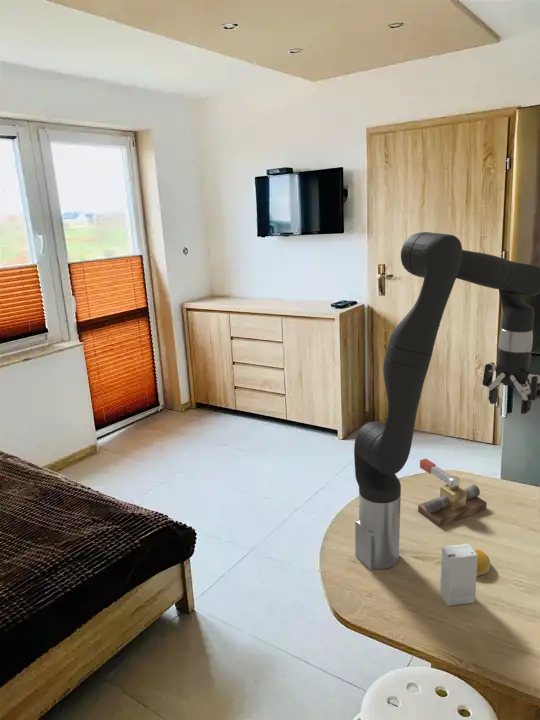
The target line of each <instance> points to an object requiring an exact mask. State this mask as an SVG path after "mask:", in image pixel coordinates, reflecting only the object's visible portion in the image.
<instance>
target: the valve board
mask: <svg viewBox="0 0 540 720" xmlns="http://www.w3.org/2000/svg"><path fill="white" fill-rule="evenodd" d="M480 495H481V490H480V488H479V486H478V485H476V484H472V485H469V486H466V487H462V486H461V485H459V488H458V489H451V488H449V487H448V484H447V483H446V484H444V485H441V486H440V488H439V497H436V498H434V499H433V498H432V499H430V500H427V501H424V502H422V503H420V504H417V505H418V508H417V512H418V513H419V514H421V515H423V516H424V517H425V518H426V519H427V520H429V521H430V522H432V524H435V525H436V526H437V527H439V528H440V527H444V526H447V525H448V524H450V523H453V522H456V521H458V520H461V519H464V518H467V517H470V516H472V515H474V514H478V513H480V512H482V511H485V510H487V503H488V502H487V501H485V500H483V499H482V498H481V497H479V496H480Z"/></svg>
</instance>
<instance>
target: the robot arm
mask: <svg viewBox="0 0 540 720" xmlns="http://www.w3.org/2000/svg"><path fill="white" fill-rule="evenodd" d="M400 260H401V264H402V265H401V266H402V267H403V268H404V269H405V270H406V271H407V272H408V273H409V274H411V275H413V276H416V277H418V278H424V279H423V281H422V285H421V288H420V292H419V294H418V297H417V300H416V301H415V304H414V305H413V306H412V308H411V309H410V310H409V312H408V313H407V314H406V315H405V316H404V317H403V318H402V320H401V321H399V323H398V324H397V325H396V327H395V328H394V330H393V331H392V333H391V335H390V337H389V341H388V343H387V348H386V351H385V355H384V359H383V366H382V372H383V380H384V386H385V387H384V388H385V392H386V398H387V413H386V414H387V415H386V419H385V423H381V422H379V421H370V422H367V423H366V424H364V425H363V426H362V427H361V428H360V429H359V430H358V432H357V434H356V436H355V441H354V444H353V445H354V447H353V454H354V455H353V456H354V460H353V461H354V477H355V480H356V482H357V485H358V520H355V524H354V525H355V526H354V527H355V529H354V530H355V534H354V535H355V539H354V540H355V543H354V544H355V545H354V546H355V549H354V550H355V554H354V555H355V556H356V557H357V559H358V560H360V562H362V564H363V565H365V566H366V568H368V569H369V570H374V569H375V570H376V569H377V570H385V569H390V568H394V566H396V565H397V564H398V562H399V558H400V529H401V527H400V526H401V525H400V523H401V501H402V500H401V496H402V486H401V485H402V484H401V481H400V479H399V478H398V476H397V474H398V473H399V472H400V471H401V470H402V469H404V467H405V464H406V463H407V461H408V459H409V455H410V452H411V447H412V445H413V444H412V442H413V438H414V430H415V425H416V419H417V412H418V408H419V403H420V399H421V395H422V392H423V387H424V384H425V380H426V377H427V373H428V371H429V367H430V363H431V359H432V355H433V352H434V347H435V344H436V339H437V335H438V331H439V329H440V326H441V323H442V318H443V315H444V313H445V309H446V305H447V303H448V302H449V298H450V295H451V293H452V290H453V288H454V285H455V283H456V280H457V279H458V280H462V281H464V282H467V283H470V284H475V285H478V286H483V287H485V288H489V289H495V290H498V292H499V293H498V294H499V299H500V304H501V308H502V309H501V310H502V318H501V327H500V331H499V336H498V346H497V357H496V363H497V365H496V363H495V362H489V363H486V364H485V365H484V370H483V376H482V377H483V378H482V382H481V383H482V386H484V387H486V388H488V401H489V404H491V405H494V404H497V402H498V394H499V388H500V386H501V385H503V386H509V387H510V388H513V389H515V388H516V391H517V392H518V393H519V394H520V395H521V398H522V400H521V407H520V414H522V415H526V414H528V413H529V412H530V411H531V408H532V407H531V406H532V401H535V400H537V399H540V374H538V373H537V374H531V373H530V365H531V358H532V350H533V343H534V342H533V341H534V338H533V337H534V333H533V331H534V323H535V313H536V312H535V308H534V307H533V306H532V305H530V304H528V303H527V302H525V301H524V300H523V298H522V296H527V297H534V296H537V295H539V294H540V266H538V265H534V264H529V263H524V262H523V263H522V262H518V261H517V262H516V261H512V260H509V259H507V258H503V257H501V256H498V255H493V254H488V253H483V252H478V251H473V250H464V249H463V246H462V243H461V240H460V239H459V238H458V237H457V236H455V235H454V234H448V233H437V232H430V231H429V232H428V231H424V232H423V231H422V232H421V231H420V232H417V233H414V234H411V235H410V236H408V238H407V239H406V240H405V241H404V243H403V244H402V247H401V251H400ZM494 373H496V375H497V377H495V379H494V378H493V377H494ZM493 379H494V380H493ZM527 380H529V383H530V385H529V383H528V381H527Z"/></svg>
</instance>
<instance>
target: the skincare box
mask: <svg viewBox="0 0 540 720" xmlns="http://www.w3.org/2000/svg"><path fill="white" fill-rule="evenodd" d="M460 544H461V545H459V544H454V545H445V546H441V567H440V568H441V569H440V584H439V585H440V586H439V587H440V588H439V592H440V594H441V597H442V599H443V601H444V602H445V604H446V606H447V607H448V606H449V607H450V606H456V605H465V604H466V605H467V604H473V603H476V601H475V599H476V588H477V587H476V586H477V577H478V576H477V560H478V555H477V554H476V552H475V551H474V550H473V549H474V548H473V546H472V545H471V544H470V543H460Z"/></svg>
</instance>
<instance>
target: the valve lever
mask: <svg viewBox="0 0 540 720" xmlns="http://www.w3.org/2000/svg"><path fill="white" fill-rule="evenodd" d="M436 465H437V464H436V463H434V462H432V461H431V460H429V459H428V458H423V459H420V461H419V468H420V469H422V470H423V471H425V472H426V473H428V474H431V475H433V476H435V477H436V478H437V479H439V480H441V481H443V483H445V484H446V485H447V484H448V487H449V488H451V489H458V488H459V486H460V482H461V479H460V478H459V477H458V476H453V475H451V474H450V473H448V472H447V471H445V470H443V469H441V468H440V467H439V466H436Z"/></svg>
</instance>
